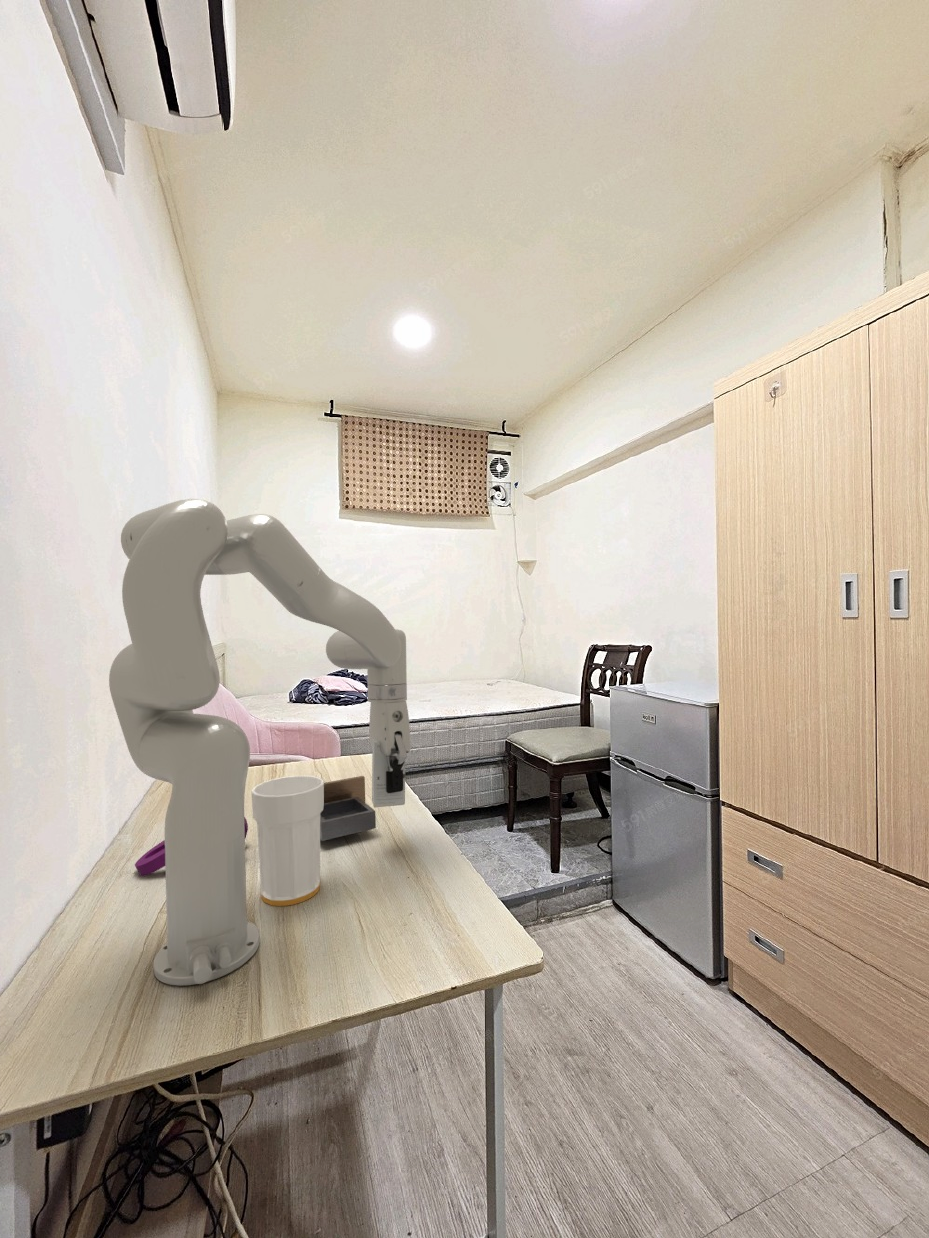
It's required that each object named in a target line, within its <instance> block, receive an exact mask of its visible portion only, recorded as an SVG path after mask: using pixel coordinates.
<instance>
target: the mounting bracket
mask: <svg viewBox="0 0 929 1238" xmlns="http://www.w3.org/2000/svg"><path fill="white" fill-rule="evenodd" d="M244 827H245V840H246V838H247V835H248V828H249V824H248V821H247V819H246V817H245V816H244ZM134 867H135V868H136V870H137V872H138V874H140V876H141V877H145V876H148V875H151V874H153V873H155V872H157V871H159V870H161V869H162V868H164V867H165V839H164V840H162V841H160V842H159V843H158V844H156V845H155V846H153V847H152V848H151V849H149V850H147V852H146V853H144V854H143V855H142V856H140V858H138V859H137V860H136V862H135V863H134Z"/></svg>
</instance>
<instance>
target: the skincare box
mask: <svg viewBox="0 0 929 1238" xmlns="http://www.w3.org/2000/svg"><path fill="white" fill-rule="evenodd" d="M371 751H372V754H371V755H372V757H371V759H372V760H371V761H372V763H371V764H372V765H371V767H372V770H371V774H372V776H371V778H372V779H371V782H372V783H371V785H372V786H371V791H372V792H371V802H372V805H373V809H375V808H383V807H394V806H395V807H396V806H404V805H406V761H405V762H404V764H403V765H404V769H403V791H400V792H394V793H387V792H386V771H388V766H387V758H386V755H384V754H383V753H381V749H380V743H379V742H377V741H375V740H373V748H372V750H371ZM391 752H392V753H391V754H393V753H397V751H396V750H394V751H391ZM395 758H396V757H392V762H393V760H394V759H395Z"/></svg>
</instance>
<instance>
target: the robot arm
mask: <svg viewBox="0 0 929 1238" xmlns="http://www.w3.org/2000/svg"><path fill="white" fill-rule="evenodd" d="M120 543H121V549H122V550H123V552H124V555H125V556H126V557H127V558H128V559H129V560H128V562H127V564H126V568H125V572H124V575H123V579H122V585H121V587H122V588H121V589H122V590H121V593H122V594H121V595H122V597H121V598H122V606H123V611H124V616H125V620H126V623H127V629H128V633H129V637H130V641H131V644H128V645H126V646H125V647H124V648H123V649H122V650H120V652H119V653H118V654H117V655H116V657H115V658H114V660H113V661H112V664H111V666H110V669H109V673H108V676H109V677H108V682H109V683H108V684H109V685H108V688H109V693H110V695H111V699H112V703H113V706H114V709H115V713H116V716H117V719H118V722H119V726H120V729H121V731H122V735H123V738H124V740H125V743H126V747H127V749H128V752H129V754H130V757H131V760H132V761H133V763H134V764H135V766H136V767H137V768H138V769H139V771H140V772H142V773H143V774H144V775H146V776H147V777H150V778H152V779H155V780H159V781H161V782H165V783H168V784H172V787H171V794H170V798H169V802H168V805H167V808H166V812H165V819H164V840H165V866H164V867H165V901H166V913H165V914H166V943H165V944H163V946H161V948H160V949H159V951H158V952H157V953H156V954H155V957H154V960H153V974H154V976H155V977H156V979H157V980H158V981H160V982H162V983H164V984H167V985H170V986H171V985H172V986H193V985H198V984H199V985H202V984H205V983H207V982H211V981H212V980H216V979H219V978H221V977H224V976H225V975H228V974H230V973H232V972H233V971H235V970H236V969H239V968H240V967H241V966H243V965H244V964H246V962H248V961H249V960H250V959H251V958H252V957H253V956H254V954H255V953H256V952H257V950H258V949H259V946H260V941H261V939H260V938H261V935H260V929H259V928H258V926H256V924H254V923H253V922H250V921H248V915H247V914H248V910H247V909H248V908H247V905H248V904H247V876H246V875H247V873H246V871H247V870H246V865H247V864H246V839H245V827H244V817H245V799H246V798H245V794H246V785H247V784H246V783H247V777H248V773H249V766H250V759H251V747H250V741H249V738H248V736H247V734H246V732H245V731H244V729H243V728H241V726H239V724H237V723H236V722H234V721H232V720H230V719H228V718H225V717H222V716H219V715H214V714H213V715H211V714H204V713H203V714H201V713H194V710H197V709H200V708H203V707H205V705H208V703H210V702H211V701H212V700H213V699H214V698H215V697H216V695H217V694H218V691H219V687H220V679H221V678H220V671H219V666H218V663H217V662H218V661H217V659H216V656H215V651H214V649H213V648H214V647H213V643H212V641H211V638H210V634H209V630H208V626H207V623H206V620H205V616H204V615H205V614H204V610H203V605H202V598H201V597H202V596H201V593H202V592H201V591H202V590H201V589H202V584H203V580H204V577H205V576H206V575H207V576H208V575H209V576H211V575H212V576H214V575H215V576H216V575H218V576H219V575H221V576H225V575H226V576H228V575H239V574H245V573H250V574H251V575H252V576H253V577H254V578H255V579H256V580H257V581H258V582H259V583H260V584H261V585H262V586H263V587H264V588H265V589H266V590H267V591H268V592H269V593H270V594H271V595H272V596H273V597H274V598H275V599H276V600H277V601H278V602H279V603H280V604H281V605H282V606H283V608H285V610H286V611H287V612H289V614H292V615H294V616H295V617H299V618H300V619H303V620H306V621H309V622H312V623H316V624H320V625H321V626H322V625H323V626H326V627H329V628H332V629H335V630H337V631H335V632H334V633H333V634H332V635H331V636H329V638H328V640H327V641H326V644H325V653H326V656H327V659H328V660H329V661H330V663H331V664H333V665H334V666H336V667H338V668H339V669H344V670H345V669H346V670H367V673H366V674H367V675H366V676H367V702H368V703H370V706H369V727H368V729H369V730H368V731H369V733H368V734H369V744H370V745H369V746H370V747H371V749H373V740H375V741H377V742H379V743H380V749H381V753H383V754H384V755H386V758H387V766H388V771H386V792H387V793H394V792H400V791H403V769H404V765H403V764H404V762H405V763H406V759H407V757H408V753H410V751H411V731H410V730H411V729H410V716H409V709H408V705H407V704H408V703H407V700H408V685H407V684H408V683H407V682H408V681H407V680H408V679H407V677H408V676H407V636H406V633H405V632H404V631H403V630H402V629H397V628H396V629H395V627H394V626H393V625H392V623H391V622H390V620H388V618H387V617H386V616H385V615H384V614H383V612H382V611H381V610H380V609H379V608H378V607H377V606H376V605H375V604H373V603H372V602H371V601H369V600H368V599H366V598H364V597H363V596H361V595H359V593H358V594H357V593H356V592H355V591H352V590H350V589H349V588H348V587H345V586H344V585H342V584H341V583H338V582H336V581H334V580H333V579H331V578H330V577H329V576H328V575H327V574H326V573H325V572H324V571H323V569H322V568H321V567H320V566H319V564H318V563H317V562H316V561H315V560H314V559H313V557H312V556H311V555H310V554H309V553H308V551H307V550H306V549H305V548H304V547H303V546H302V545H301V543H300V542H299V541H298V540H297V539H296V538H295V536H294V535H293V534H292V533H291V532H290V530H288V528H287V527H286V526H285V525H284V524H283V523H282V522H281V521H280V520H279V519H278V518H276V517H274V516H273V515H270V514H266V513H254V514H250V515H249V514H248V515H243V516H239V517H236V518H231V519H228V520H227V519H226V517H225V515H224V513H223V512H222V511H221V509H220V508H219V507H218V506H217V505H215V504H214V503H212V502H211V501H208V500H205V499H199V498H189V499H188V498H187V499H180V500H177V501H172V502H169V503H166V504H164V505H161V506H158V507H155V508H151V509H148V510H145V511H143V512H140V513H138V514H135V515H133V517H131V518H129V520H127V522H126V523H125V525H124V526H123V528H122V530H121V534H120ZM394 750H396V751H397V753H393V754H391V753H392V752H391V751H394ZM392 757H396V758H395V759H394V760H393V762H392Z"/></svg>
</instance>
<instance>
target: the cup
mask: <svg viewBox="0 0 929 1238" xmlns="http://www.w3.org/2000/svg"><path fill="white" fill-rule="evenodd" d="M324 783H325V781H324V779H322V778H320V777H319V776H313V775H290V776H283V777H279V778H278V777H277V778H271V779H269V780H266V781H263V782H261V783H259V784H257V785H255V786H253V788H252V790H251V805H252V806H251V807H252V818H253V820H255V822H256V826H257V841H258V844H257V845H258V860H259V861H258V863H259V873H260V874H259V878H260V879H259V881H260V894H261V900H262V902H264V903H265V904H267V905H269V906H273V907H274V906H275V907H285V906H294V905H297V904H300V903H302V902H306V901H307V900H309V899H310V898H312V897H314V896H315V895H317V893H318V892H319V891H320V889H321V839H320V813H321V812H322V811H323V807H324Z"/></svg>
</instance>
